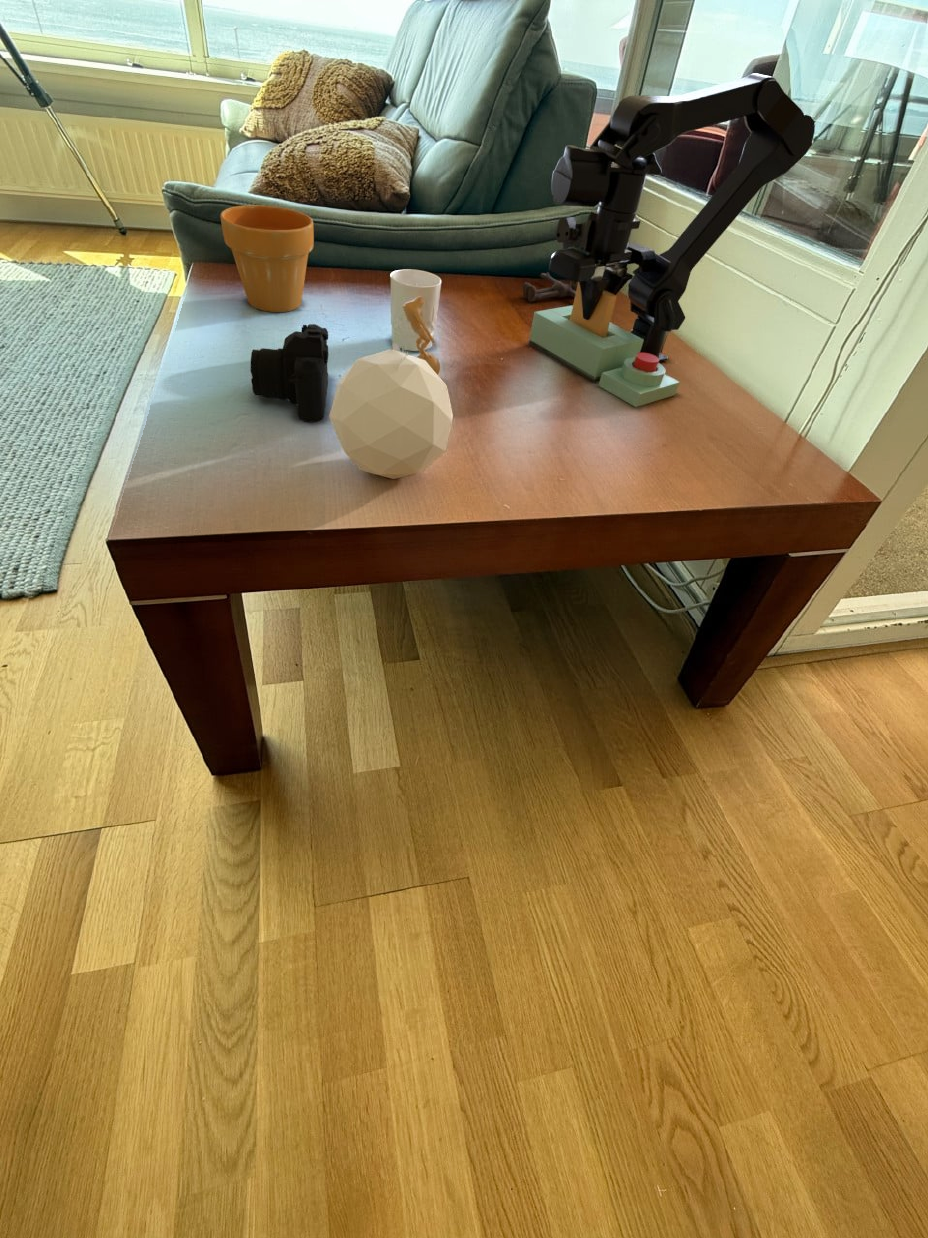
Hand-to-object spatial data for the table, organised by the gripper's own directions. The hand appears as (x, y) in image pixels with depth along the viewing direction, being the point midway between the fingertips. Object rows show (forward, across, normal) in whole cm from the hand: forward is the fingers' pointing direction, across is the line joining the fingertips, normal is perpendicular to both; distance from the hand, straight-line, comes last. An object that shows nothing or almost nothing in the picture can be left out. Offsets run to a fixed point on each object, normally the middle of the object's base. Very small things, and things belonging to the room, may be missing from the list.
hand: (590, 318), depth 103 cm
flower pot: (+7, +37, -39) cm, 54 cm away
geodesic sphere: (+7, +48, +14) cm, 50 cm away
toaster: (+7, 0, 0) cm, 7 cm away
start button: (+3, 0, +13) cm, 13 cm away
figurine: (+7, +31, -4) cm, 32 cm away
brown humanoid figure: (+7, -17, -24) cm, 30 cm away
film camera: (+7, +50, -7) cm, 51 cm away
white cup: (+7, +24, -16) cm, 30 cm away
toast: (+3, 0, 0) cm, 3 cm away
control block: (+7, 0, +13) cm, 15 cm away
